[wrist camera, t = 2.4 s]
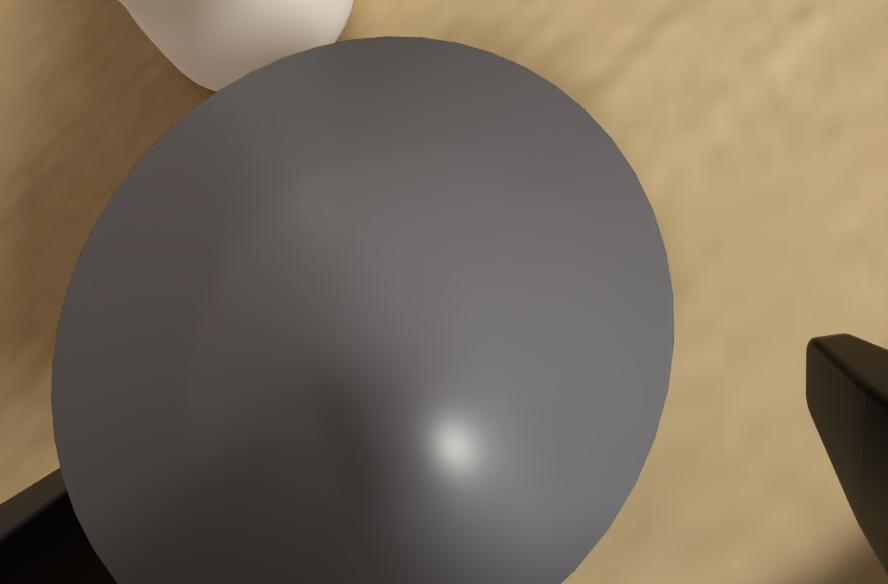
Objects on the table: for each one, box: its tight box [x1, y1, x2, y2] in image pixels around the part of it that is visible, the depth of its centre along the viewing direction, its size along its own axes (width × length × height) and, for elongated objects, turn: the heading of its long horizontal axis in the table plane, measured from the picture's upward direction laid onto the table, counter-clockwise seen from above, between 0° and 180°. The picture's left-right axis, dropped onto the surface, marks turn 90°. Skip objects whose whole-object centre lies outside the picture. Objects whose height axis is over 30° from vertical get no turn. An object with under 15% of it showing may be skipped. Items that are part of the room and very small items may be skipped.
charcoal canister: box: [51, 37, 674, 584], centre depth 11 cm, size 5×5×12 cm
